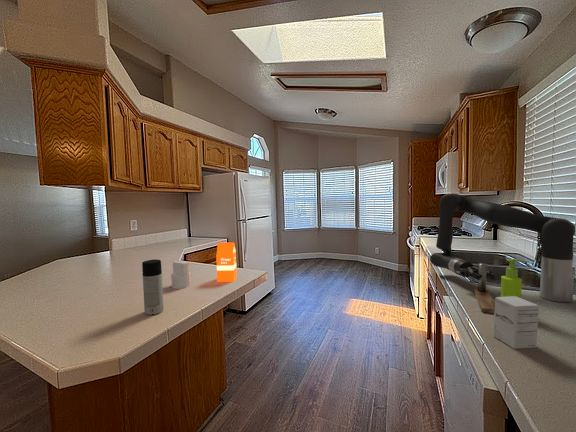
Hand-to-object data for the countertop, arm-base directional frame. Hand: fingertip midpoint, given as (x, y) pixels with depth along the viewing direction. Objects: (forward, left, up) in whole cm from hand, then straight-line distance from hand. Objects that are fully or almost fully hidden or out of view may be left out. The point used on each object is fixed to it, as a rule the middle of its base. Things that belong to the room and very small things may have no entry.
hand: (486, 277), depth 118 cm
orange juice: (+117, +29, -9) cm, 121 cm away
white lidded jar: (+131, +47, -9) cm, 140 cm away
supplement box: (-2, +40, -9) cm, 41 cm away
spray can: (+115, +74, -9) cm, 137 cm away
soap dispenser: (-6, +15, -9) cm, 18 cm away
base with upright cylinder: (-4, +6, -8) cm, 11 cm away
